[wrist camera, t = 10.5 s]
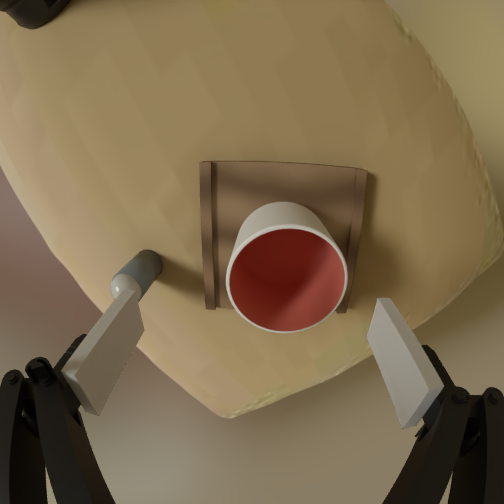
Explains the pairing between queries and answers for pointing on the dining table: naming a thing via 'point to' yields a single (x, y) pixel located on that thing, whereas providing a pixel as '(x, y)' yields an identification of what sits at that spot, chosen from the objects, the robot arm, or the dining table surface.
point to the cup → (285, 269)
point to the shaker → (137, 274)
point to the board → (269, 191)
